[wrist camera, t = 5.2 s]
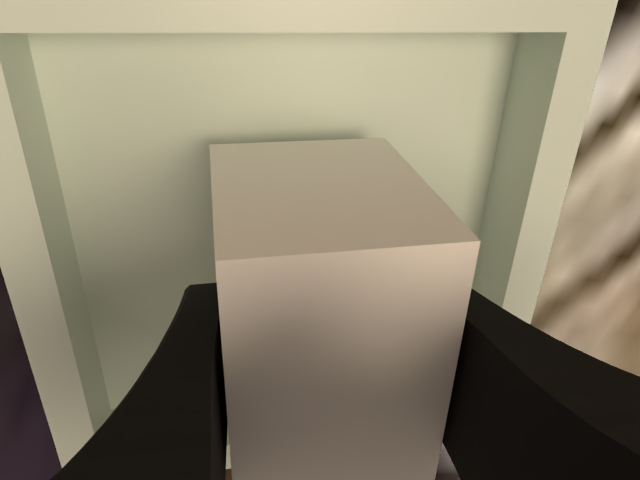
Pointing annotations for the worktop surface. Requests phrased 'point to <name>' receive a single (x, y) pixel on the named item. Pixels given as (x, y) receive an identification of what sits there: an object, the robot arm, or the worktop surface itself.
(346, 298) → the tall beige upright block
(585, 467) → the robot arm
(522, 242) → the tray
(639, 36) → the worktop surface
